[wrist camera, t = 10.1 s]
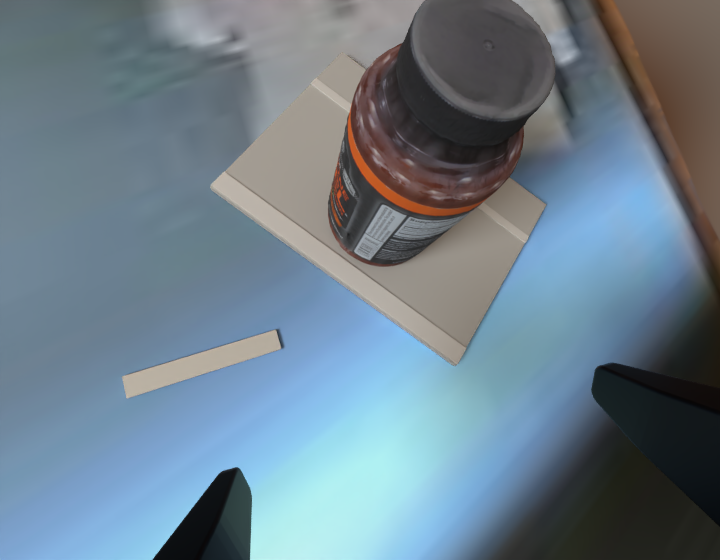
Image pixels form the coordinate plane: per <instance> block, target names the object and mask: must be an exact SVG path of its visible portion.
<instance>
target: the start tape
mask: <svg viewBox="0 0 720 560" xmlns="http://www.w3.org/2000/svg"><path fill="white" fill-rule="evenodd" d="M280 349H281V346H280V342H279V339H278V335H277V332H276V330H273V331H270V332H267V333H263V334H260V335H257V336H253V337H250V338H247V339H244V340H240V341H237V342H234V343H231V344H227V345H224V346H221V347H217V348H214V349H211V350H208V351H204V352H201V353H198V354H194V355H191V356H188V357H185V358H181V359H178V360H175V361H171V362H168V363H165V364H162V365H158V366H155V367H152V368H148V369H145V370H142V371H139V372H135V373H132V374H129V375H125V376H122V378H123V383H124V388H125V393H126V397H127V398H130V397H133V396H136V395H139V394H142V393H146V392H149V391H152V390H155V389H158V388H161V387H164V386H167V385H171V384H174V383H177V382H180V381H183V380H186V379H189V378H192V377H196V376H199V375H202V374H205V373H208V372H211V371H214V370H217V369H221V368H224V367H227V366H230V365H233V364H236V363H239V362H242V361H246V360H249V359H252V358H255V357H258V356H261V355H264V354H267V353H271V352H274V351H277V350H280Z"/></svg>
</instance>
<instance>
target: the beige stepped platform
mask: <svg viewBox="0 0 720 560" xmlns="http://www.w3.org/2000/svg"><path fill="white" fill-rule="evenodd" d="M365 71H366V69H364V68H363V67H362V66H360V65H359V64H358V63H356V62H355V61H354V60H352V59H351V58H350V57H348V56H347V55H346V54H344V53H343V52H342V53H341V54H340V55H339V56H338V57H337V58H336V59H335V60H334V61H333V62H332V63H331V64H330V65H329V66H328V67H327V68H326V69H325V70H324V71H323V72H322V73H321V74H320V75H319V76H318V77H317V78H315V79H314V80H313V81H312V82H311V84H310V85H309V86H308V87H307V88H306V89H305V90H304V91H303V92H302V93H301V94H300V95H299V97H298V98H297V99H296V100H295V101H294V102H293V103H292V104H291V105H290V106H289V107H288V108H287V109H286V110H285V111H284V112H283V113H282V114H281V115H280V116H279V117H278V118H277V119H276V120H275V121H274V122H273V123H272V124H271V125H270V126H269V127H268V128H267V129H266V130H265V131H264V132H263V133H262V134H261V135H260V136H259V137H258V138H257V139H256V140H255V141H254V143H253V144H252V145H251V146H250V147H249V148H248V149H247V150H246V151H245V152H244V153H243V154H242V155H241V156H240V157H239V158H238V159H237V160H236V161H235V162H234V163H233V164H232V165H231V166H230V167H229V168H228V169H227V170H226V171H225V172H223V173H222V174H221V175H220V176H219V177H218V178H217V179H216V180H215V181H214V182H213V183H212V184H211V186H210V188H211V190H212V191H213V192H215V193H216V194H217V195H219V196H220V197H222V198H223V199H224V200H226V201H227V202H228V203H230V204H231V205H233V206H234V207H235V208H237V209H238V210H239V211H241V212H242V213H244V214H245V215H246V216H248V217H249V218H250V219H252V220H253V221H255V222H256V223H257V224H259V225H260V226H261V227H263V228H264V229H266V230H267V231H268V232H270V233H271V234H272V235H274V236H275V237H277V238H278V239H279V240H281V241H282V242H283V243H285V244H286V245H288V246H289V247H290V248H292V249H293V250H294V251H296V252H297V253H299V254H300V255H301V256H303V257H304V258H305V259H307V260H308V261H310V262H311V263H312V264H314V265H315V266H316V267H318V268H319V269H321V270H322V271H323V272H325V273H326V274H327V275H329V276H330V277H332V278H333V279H334V280H336V281H337V282H338V283H340V284H341V285H343V286H344V287H345V288H347V289H348V290H349V291H351V292H352V293H354V294H355V295H356V296H358V297H359V298H360V299H362V300H363V301H365V302H366V303H367V304H369V305H370V306H371V307H373V308H374V309H376V310H377V311H378V312H380V313H381V314H382V315H384V316H385V317H387V318H388V319H389V320H391V321H392V322H393V323H395V324H396V325H398V326H399V327H400V328H402V329H403V330H404V331H406V332H407V333H409V334H410V335H411V336H413V337H414V338H415V339H417V340H418V341H420V342H421V343H422V344H424V345H425V346H426V347H428V348H429V349H431V350H432V351H433V352H435V353H436V354H437V355H439V356H440V357H442V358H443V359H444V360H446V361H447V362H448V363H450V364H451V365H453V366H456V365H457V364H458V363H459V361H460V359H461V357H462V356H463V354H464V352H465V350H466V347H467V345H468V344H469V342H470V340H471V338H472V337H473V335H474V333H475V331H476V329H477V328H478V326H479V324H480V322H481V320H482V319H483V317H484V315H485V313H486V312H487V310H488V308H489V306H490V304H491V303H492V301H493V299H494V297H495V296H496V294H497V292H498V290H499V288H500V287H501V285H502V283H503V281H504V279H505V278H506V276H507V274H508V272H509V271H510V269H511V267H512V265H513V263H514V262H515V260H516V258H517V256H518V254H519V253H520V251H521V249H522V247H523V246H524V244H525V243H526V241H527V240H528V238H529V235H530V233H531V231H532V230H533V228H534V226H535V224H536V222H537V221H538V219H539V217H540V215H541V213H542V212H543V210H544V208H545V206H546V204H545V203H543V202H542V201H541V200H539V199H538V198H537V197H535V196H534V195H533V194H531V193H530V192H529V191H527V190H526V189H525V188H523V187H522V186H520V185H519V184H518V183H516V182H515V181H514V180H512V179H511V178H510V177H509V178H508V179H507V180H506V182H505V183H504V184H503V185H502V186H501V187H500V188H499V189H498V190H497V191H496V192H495V193H494V194H492V195H491V196H490V197H489V198H487V199H486V200H485V201H484V202H483V203H482V204H481V205H479V206H478V207H477V208H476V209H474V210H473V211H472V212H471V213H469V214H468V215H467V216H466V217H464V218H463V219H462V220H461V221H459V222H458V223H457V224H456V225H454V226H453V227H452V228H451V229H449V230H448V231H447V232H445V233H444V234H443V235H442V236H441V237H439V238H438V239H437V240H436V241H434V242H433V243H432V244H430V245H429V246H428V247H427V248H425V249H424V250H423V251H422V252H421V253H419V254H418V255H416V256H415V257H413V258H412V259H410V260H408V261H406V262H404V263H402V264H399V265H395V266H389V267H378V266H372V265H368V264H366V263H363V262H361V261H359V260H357V259H355V258H354V257H352V256H351V255H349V254H348V253H347V252H346V251H345V250H343V249H342V248H341V247H340V245H339V243H338V242H337V240H336V239H335V237H334V235H333V233H332V230H331V228H330V224H329V219H328V200H329V195H330V191H331V187H332V182H333V178H334V174H335V170H336V167H337V162H338V157H339V153H340V150H341V144H342V140H343V137H344V132H345V126H346V124H347V117H348V115H349V112H350V108H351V104H352V101H353V97H354V94H355V91H356V89H357V86H358V84H359V82H360V80H361V77H362V75H363V74H364V72H365Z"/></svg>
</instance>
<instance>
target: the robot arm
mask: <svg viewBox="0 0 720 560" xmlns="http://www.w3.org/2000/svg"><path fill="white" fill-rule="evenodd" d="M591 391H592V395H593V397H594V399H595V400H596V402H597V403H598V404H599V405H600V406H601V407H602V409H603V410H604V411H605V412H606V413H607V414H608V415H609V417H610V418H611V419H612V420H613V421H614V422H615V423H616V424H617V426H618V427H619V428H620V429H621V430H622V431H623V432H624V433H625V435H626V436H627V437H628V438H629V439H630V440H631V441H632V442H633V444H634V445H635V446H636V447H637V448H638V449H639V450H640V451H641V452H642V453H643V454H644V455H645V456H646V457H647V458H648V459H649V460H650V461H651V462H652V463H653V464H654V465H655V466H657V467H658V468H659V469H660V470H661V471H662V472H663V473H664V474H665V475H666V476H667V477H668V478H669V479H670V480H671V481H672V482H673V483H674V484H675V485H677V486H678V487H679V488H680V489H681V490H682V491H683V492H684V493H685V494H686V495H687V496H688V497H689V498H690V499H691V500H692V501H693V502H694V503H695V504H696V505H698V506H699V507H700V508H701V509H702V510H703V511H704V512H705V513H706V514H707V515H708V516H709V517H710V518H711V519H712V520H713V521H714V522H715V523H716V524H717V525H719V526H720V388H717V387H713V386H709V385H705V384H701V383H696V382H692V381H688V380H684V379H680V378H676V377H671V376H667V375H663V374H659V373H655V372H651V371H646V370H642V369H638V368H634V367H630V366H626V365H621V364H617V363H608V364H604V365H600V366H598V367H597V368H596V369H595V373H594V378H593V383H592V389H591ZM251 512H252V495H251V490H250V487H249V485H248V483H247V481H246V479H245V477H244V475H243V473H242V471H241V470H240V469H239V468H238V467H235V468H232V469H228V470H225V471H222V472H220V473H219V474H218V476H217V477H216V478H215V479H214V481H213V482H212V483H211V485H210V486H209V487H208V489H207V490H206V491H205V492H204V494H203V495H202V496H201V498H200V499H199V500H198V501H197V503H196V504H195V505H194V507H193V508H192V509H191V511H190V512H189V513H188V514H187V516H186V517H185V518H184V520H183V521H182V522H181V523H180V525H179V526H178V527H177V529H176V530H175V531H174V533H173V534H172V535H171V536H170V538H169V539H168V540H167V542H166V543H165V544H164V545H163V547H162V548H161V549H160V551H159V552H158V553H157V554H156V556H155V557H154V558H153V560H250V542H251Z"/></svg>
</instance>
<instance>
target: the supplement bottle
mask: <svg viewBox="0 0 720 560" xmlns="http://www.w3.org/2000/svg"><path fill="white" fill-rule="evenodd" d="M554 77H555V59H554V56H553V55H552V51H551V46H550V43H549V42H548V40H547V38H546V36H545V34H544V33H543V32H542V30H541V28H540V26H539V25H538V24H537V23H536V22H535V21H534V19H533V18H532V17H531V16H530V15H529V14H528V13H526V12H525V11H524V10H523V8H521V7H520V6H519V5H518V4H516V3H515V2H513V1H512V0H425V1H424V2H423V3H422V5H421V6H420V7H419V9H418V11H417V12H416V13H415V16H414V18H413V20H412V23H411V25H410V27H409V30H408V33H407V35H406V37H405V40H404V42H403V43H402V44H399V45H397V46H396V47H394V48H392V49H390V50H388V51H386V52H385V53H384V54H382V55H381V56H379V57H378V58H377V59H376V60H375V61H374V62H373V63H372V64H371V65H370V67H368V69H367V70H366V71H365V72H364V74H363V75H362V77H361V80H360V82H359V84H358V86H357V89H356V91H355V94H354V97H353V101H352V104H351V108H350V112H349V115H348V117H347V124H346V126H345V132H344V137H343V140H342V144H341V150H340V153H339V157H338V162H337V167H336V170H335V174H334V178H333V182H332V187H331V191H330V195H329V200H328V219H329V224H330V228H331V230H332V233H333V235H334V237H335V239H336V240H337V242H338V243H339V245H340V247H341V248H342V249H343V250H345V251H346V252H347V253H348V254H349V255H351V256H352V257H354V258H355V259H357V260H359V261H361V262H363V263H366V264H368V265H372V266H378V267H389V266H395V265H399V264H402V263H404V262H406V261H408V260H410V259H412V258H413V257H415V256H416V255H418V254H419V253H421V252H422V251H423V250H424V249H425V248H427V247H428V246H429V245H430V244H432V243H433V242H434V241H436V240H437V239H438V238H439V237H441V236H442V235H443V234H444V233H445V232H447V231H448V230H449V229H451V228H452V227H453V226H454V225H456V224H457V223H458V222H459V221H461V220H462V219H463V218H464V217H466V216H467V215H468V214H469V213H471V212H472V211H473V210H474V209H476V208H477V207H478V206H479V205H481V204H482V203H483V202H484V201H485V200H486V199H487V198H489V197H490V196H491V195H492V194H494V193H495V192H496V191H497V190H498V189H499V188H500V187H501V186H502V185H503V184H504V183H505V182H506V180H507V179H508V178H509V177H510V175H511V174H512V172H513V170H514V169H515V167H516V164H517V162H518V160H519V157H520V154H521V150H522V147H523V137H524V129H523V126H524V125H525V123H526V121H527V120H528V119H529V117H530V116H531V115H532V114H533V113H534V112H536V111H537V110H538V108H539V107H540V106H541V105H542V104H543V103H544V101H545V100H546V98H547V97H548V95H549V94H550V91H551V89H552V86H553V84H554Z"/></svg>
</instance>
